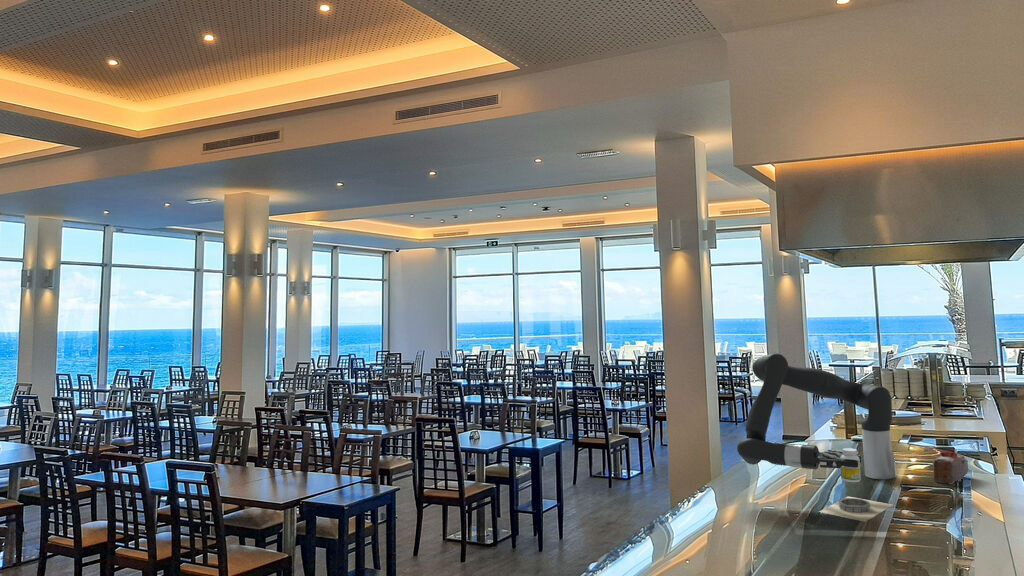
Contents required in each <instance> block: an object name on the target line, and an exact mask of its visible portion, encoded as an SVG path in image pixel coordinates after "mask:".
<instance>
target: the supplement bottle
mask: <svg viewBox="0 0 1024 576" xmlns="http://www.w3.org/2000/svg"><path fill="white" fill-rule="evenodd" d="M842 452H843V454H844V455H842V456H840V458H843V459H851V460H857V461H858V467H857V468H855V467H845V466H844V467H841V468H840V472H841V480H842V481H844V482H848V483H860V482H861V479H862V478H861V463H860V459H859V457H858V456H859V455H858V450H857V449H856V448H851V447H844V448H842ZM856 455H858V456H856Z"/></svg>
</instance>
